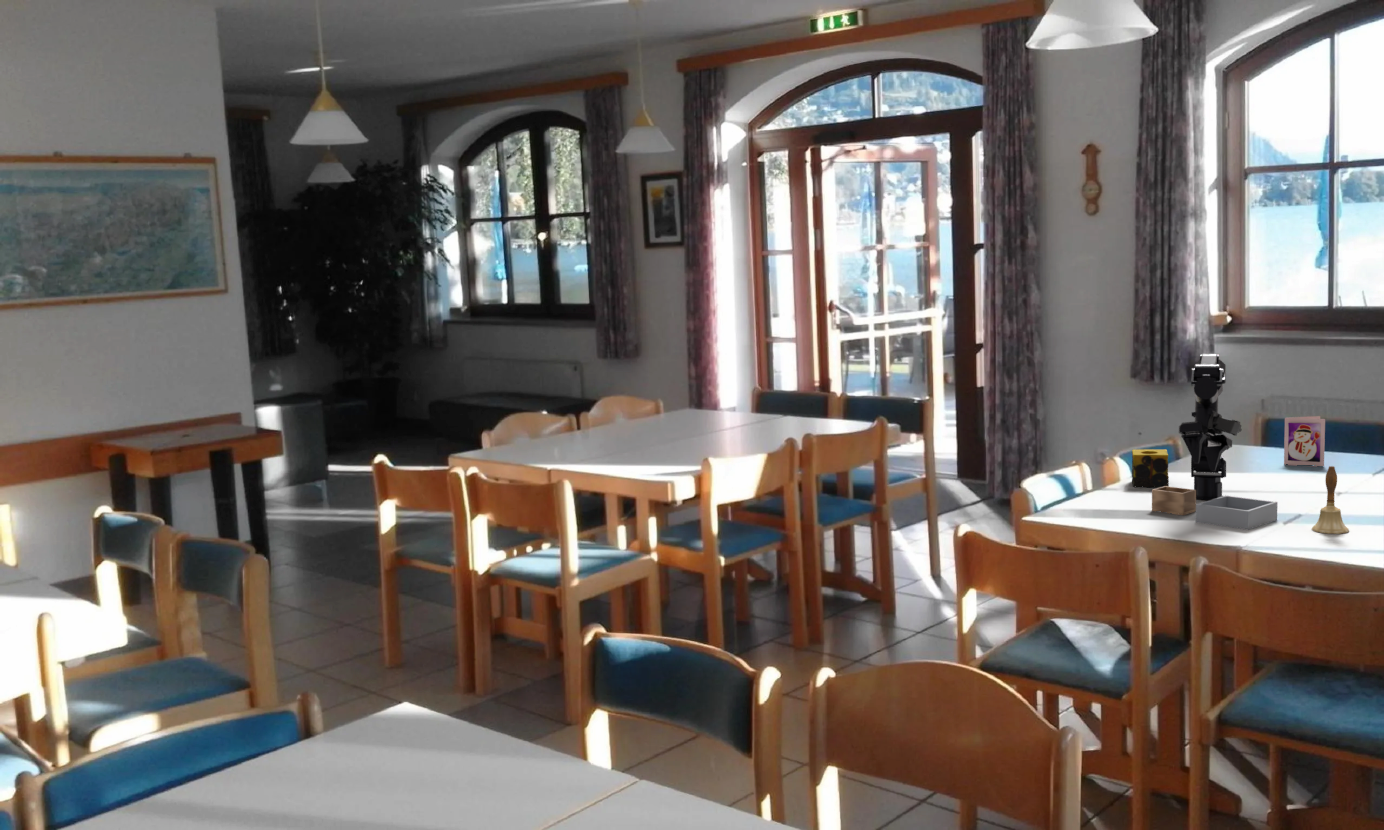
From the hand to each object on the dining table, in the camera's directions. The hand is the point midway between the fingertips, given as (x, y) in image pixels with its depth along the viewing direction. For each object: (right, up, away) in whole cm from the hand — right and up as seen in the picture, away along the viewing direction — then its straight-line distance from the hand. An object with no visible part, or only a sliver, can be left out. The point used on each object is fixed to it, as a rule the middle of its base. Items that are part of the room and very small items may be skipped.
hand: (1204, 467), depth 342 cm
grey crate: (+5, -14, -7) cm, 16 cm away
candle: (+1, -7, +45) cm, 45 cm away
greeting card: (+58, -2, +68) cm, 89 cm away
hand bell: (+23, -15, -21) cm, 34 cm away
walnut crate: (-5, -12, +7) cm, 15 cm away
